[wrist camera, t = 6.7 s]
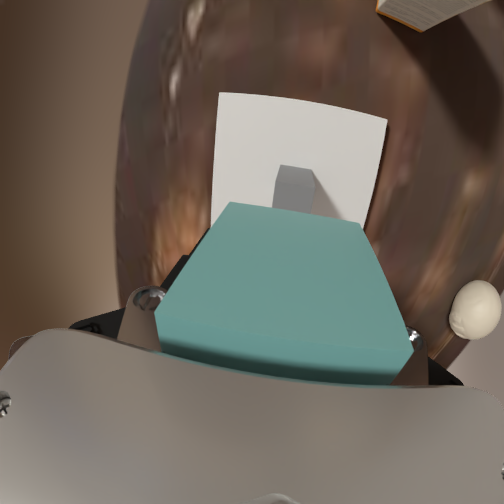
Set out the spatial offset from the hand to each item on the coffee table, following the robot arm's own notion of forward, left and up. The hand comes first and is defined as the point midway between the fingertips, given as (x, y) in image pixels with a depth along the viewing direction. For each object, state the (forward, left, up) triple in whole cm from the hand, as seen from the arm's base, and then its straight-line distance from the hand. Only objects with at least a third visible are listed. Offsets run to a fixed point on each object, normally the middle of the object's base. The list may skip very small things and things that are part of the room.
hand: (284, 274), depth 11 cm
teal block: (0, 0, -1) cm, 1 cm away
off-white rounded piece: (+9, +24, -15) cm, 29 cm away
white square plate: (0, 0, -14) cm, 14 cm away
